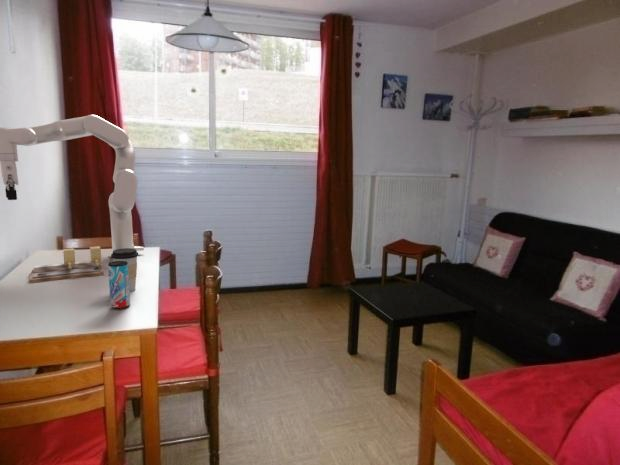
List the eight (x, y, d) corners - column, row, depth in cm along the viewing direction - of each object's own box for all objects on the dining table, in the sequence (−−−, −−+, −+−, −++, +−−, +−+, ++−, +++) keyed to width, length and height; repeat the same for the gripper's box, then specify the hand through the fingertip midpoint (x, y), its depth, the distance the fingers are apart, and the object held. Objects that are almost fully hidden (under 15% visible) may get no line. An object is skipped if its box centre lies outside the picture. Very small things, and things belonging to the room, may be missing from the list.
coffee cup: (123, 295, 156) (121, 254, 153) (107, 290, 161) (104, 251, 158) (145, 289, 164) (143, 250, 161) (129, 284, 169) (127, 246, 166)
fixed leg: (101, 261, 193) (99, 246, 191) (102, 267, 184) (101, 251, 182) (90, 262, 191) (89, 247, 190) (92, 268, 182) (91, 252, 181)
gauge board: (101, 265, 195) (100, 258, 194) (103, 274, 181) (103, 267, 181) (32, 272, 182) (31, 265, 182) (29, 282, 169) (28, 274, 168)
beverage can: (108, 306, 145) (105, 262, 142) (126, 302, 149) (123, 260, 147) (115, 311, 141) (112, 266, 138) (133, 307, 145) (130, 263, 142)
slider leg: (75, 263, 188) (74, 248, 187) (75, 269, 179) (74, 253, 178) (64, 264, 186) (63, 249, 185) (64, 270, 177) (63, 254, 176)
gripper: (19, 158, 178) (24, 200, 182) (16, 157, 192) (20, 196, 195) (-3, 158, 174) (2, 201, 177) (-5, 157, 187) (-1, 197, 191)
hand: (11, 198), depth 186 cm, fingers open, 9 cm apart
